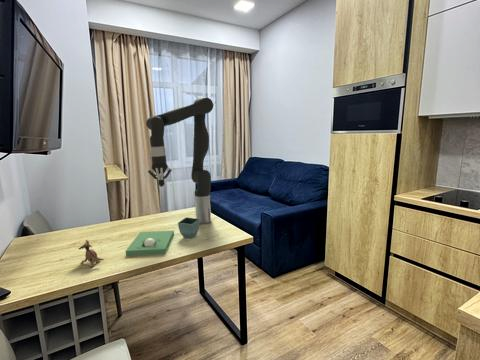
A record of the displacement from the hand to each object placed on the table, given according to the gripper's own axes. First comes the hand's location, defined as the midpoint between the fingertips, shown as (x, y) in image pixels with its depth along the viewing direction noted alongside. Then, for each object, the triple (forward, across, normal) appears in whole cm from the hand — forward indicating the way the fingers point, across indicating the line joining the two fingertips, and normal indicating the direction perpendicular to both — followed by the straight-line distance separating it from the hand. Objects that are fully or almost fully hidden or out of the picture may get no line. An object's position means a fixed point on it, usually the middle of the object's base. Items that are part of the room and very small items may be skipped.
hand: (161, 186), depth 139 cm
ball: (+23, +4, +21) cm, 32 cm away
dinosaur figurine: (+26, +26, +32) cm, 49 cm away
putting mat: (+26, +4, +17) cm, 31 cm away
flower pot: (+27, -14, +9) cm, 32 cm away
